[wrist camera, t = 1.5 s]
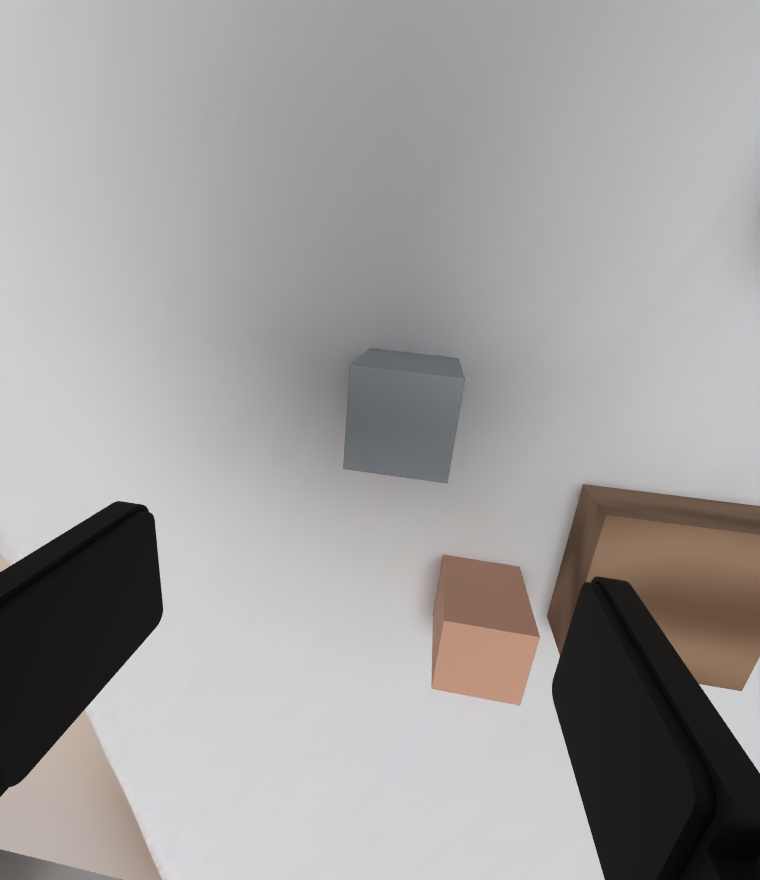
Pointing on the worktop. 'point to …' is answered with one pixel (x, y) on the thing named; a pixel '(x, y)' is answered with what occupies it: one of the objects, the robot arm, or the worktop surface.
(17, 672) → the robot arm
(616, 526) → the walnut base
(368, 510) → the worktop surface
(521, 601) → the terracotta block
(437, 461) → the grey block
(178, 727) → the worktop surface
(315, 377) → the worktop surface
